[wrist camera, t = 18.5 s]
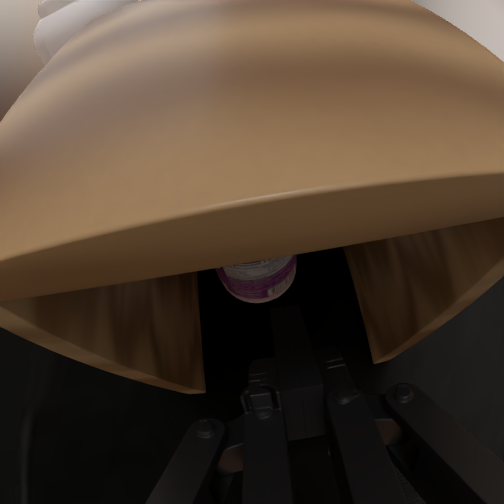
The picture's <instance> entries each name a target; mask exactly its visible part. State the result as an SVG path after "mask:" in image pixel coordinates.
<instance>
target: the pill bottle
mask: <svg viewBox="0 0 504 504" xmlns="http://www.w3.org/2000/svg"><path fill="white" fill-rule="evenodd" d="M215 270H216V272H217V274H218V276H219V278H220V280H221V281H222V283H223V285H224V286H225V288H226V289H227V290H228V291H229V292H230V293H231V294H232V295H233V296H235V297H236V298H238V299H240V300H243V301H246V302H250V303H262V302H267V301H270V300H272V299H276V298H277V297H279V296H280V295H282V294H283V293H284V292H285V291H286V290H287V289H288V288H289V286H290V285H291V283H292V281H293V279H294V276H295V273H296V255H290V256H285V257H279V258H273V259H267V260H261V261H255V262H249V263H243V264H237V265H231V266H225V267H219V268H215Z"/></svg>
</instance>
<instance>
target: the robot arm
mask: <svg viewBox="0 0 504 504" xmlns="http://www.w3.org/2000/svg"><path fill="white" fill-rule="evenodd" d="M270 315H271V324H272V333H273V342H274V350H275V357H270V358H264V359H257V360H253V361H252V363H251V365H250V366H249V377H248V382H249V383H248V387H246V388H245V389H244V390H243V391H242V393H241V396H240V399H241V402H242V406H243V409H244V413H243V414H242V415H241V416H240V417H238V418H237V419H234V420H232V421H229V422H226V423H223V422H221V421H220V420H219V419H215V418H204V419H200V420H198V421H196V422H194V423H193V424H192V425H191V426H190V427H189V429H188V430H187V432H186V434H185V436H184V438H183V439H182V441H181V443H180V445H179V446H178V448H177V450H176V452H175V454H174V455H173V457H172V459H171V461H170V462H169V464H168V466H167V468H166V469H165V471H164V473H163V474H162V476H161V478H160V480H159V481H158V483H157V485H156V487H155V488H154V490H153V492H152V493H151V495H150V497H149V498H148V500H147V502H146V504H229V501H230V498H231V496H232V493H233V490H234V488H235V485H236V482H237V479H238V477H239V474H240V471H241V470H243V489H242V504H296V502H295V493H294V484H293V476H292V467H291V459H290V451H289V445H288V441H291V440H297V439H304V438H309V437H315V436H320V435H325V434H326V432H327V436H328V455H330V456H331V461H332V465H333V469H334V473H335V478H336V482H337V487H338V491H339V496H340V500H341V504H408V502H407V499H406V497H405V494H404V491H403V489H402V486H401V484H400V481H399V479H398V476H397V474H396V471H395V468H394V466H393V464H392V462H393V463H394V464H395V466H396V467H397V468H398V469H399V470H400V472H401V473H402V474H403V475H404V477H405V478H406V479H407V480H408V481H409V483H410V484H411V485H412V486H413V487H414V489H415V490H416V491H417V492H418V494H419V495H420V496H421V497H422V498H423V500H424V501H425V502H426V503H427V504H504V462H503V461H502V460H501V459H500V458H499V457H497V456H496V455H495V454H494V453H493V452H492V451H491V450H489V449H488V448H487V447H486V446H485V445H484V444H483V443H481V442H480V441H479V440H478V439H477V438H476V437H474V436H473V435H472V434H471V433H470V432H469V431H468V430H466V429H465V428H464V427H463V426H462V425H461V424H460V423H458V422H457V421H456V420H455V419H454V418H453V417H451V416H450V415H449V414H448V413H447V412H446V411H445V410H443V409H442V408H441V407H440V406H439V405H438V404H436V403H435V402H434V401H433V400H432V399H431V398H429V397H428V396H427V395H426V394H425V393H424V392H423V391H421V390H420V389H419V388H418V387H416V386H414V385H413V384H408V383H399V384H396V385H393V386H392V387H390V388H389V389H388V390H387V392H386V393H385V395H369V394H365V393H363V392H362V391H361V390H360V389H359V388H357V387H355V385H354V383H353V381H352V378H351V376H350V374H349V371H348V369H347V367H346V365H345V362H344V360H343V358H342V355H341V353H340V351H339V350H337V349H336V348H335V347H333V346H329V347H324V348H319V349H314V350H313V348H312V345H311V342H310V339H309V336H308V332H307V329H306V326H305V323H304V320H303V317H302V314H301V310H300V307H299V304H298V305H292V306H286V307H280V308H274V309H270Z"/></svg>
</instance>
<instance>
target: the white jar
mask: <svg viewBox="0 0 504 504" xmlns="http://www.w3.org/2000/svg"><path fill="white" fill-rule="evenodd" d="M135 2H138V0H44V1H43V2H41V3H40V4H39V5H38V13H39V16H40V18H41V20H40V21H39V22H38V25H37V27H36V29H35V32H34V34H33V37H34V45H35V49H36V51H37V53H38V54H39V57H40V59H41V61H42V63H43V65H44V66H45V65H46V64H47V63H48V62H49V61H50V60H51V59H52V58H53V57H54V56H55V54H56V53H57V52H58V51H59V50H60V49H61V48H62V47H63V46H64V45H65V44H66V43H67V42H68V41H69V40H70V39H71V38H72V37H73V36H74V35H76V34H77V33H78V32H79V31H80V30H81V29H82V28H83V27H84V26H85V25H86V24H88V23H89V22H90V21H91V20H92V19H94V18H96V17H99V16H101V15H104V14H106V13H108V12H111V11H113V10H116V9H119V8H121V7H124V6H127V5H130V4H132V3H135Z"/></svg>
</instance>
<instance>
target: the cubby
mask: <svg viewBox="0 0 504 504" xmlns="http://www.w3.org/2000/svg"><path fill="white" fill-rule="evenodd" d="M342 246H343V249H344V253H345V256H346V259H347V263H348V266H349V270H350V273H351V276H352V280H353V284H354V287H355V291H356V294H357V298H358V302H359V306H360V309H361V313H362V317H363V321H364V325H365V329H366V333H367V338H368V342H369V346H370V350H371V355H372V359H373V363H374V364H377V363H381V362H384V361H388V360H390V359H392V358H394V357H395V356H397V355H399V354H400V353H402V352H403V351H405V350H406V349H408V348H410V347H411V346H413V345H414V344H416V343H417V342H419V341H420V340H422V339H423V338H425V337H426V336H428V335H429V334H430V333H432V332H433V331H435V330H436V329H438V328H439V327H440V326H442V325H443V324H445V323H446V322H447V321H449V320H450V319H451V318H453V317H454V316H455V315H457V314H458V313H459V312H461V311H462V310H463V309H464V308H466V307H467V306H468V305H470V304H471V303H472V302H473V301H475V300H476V299H477V298H478V297H480V296H481V295H482V294H483V293H484V292H486V291H487V290H488V289H489V288H490V287H491V286H493V285H494V284H495V283H496V282H497V281H498V280H499V279H501V278H502V277H503V276H504V62H503V61H502V60H500V59H499V58H498V57H496V55H494V54H493V53H492V52H490V51H489V50H488V49H487V48H485V47H484V46H483V45H481V44H480V43H479V42H477V41H476V40H474V39H473V38H472V37H470V36H469V35H467V34H466V33H465V32H463V31H462V30H460V29H459V28H457V27H456V26H454V25H452V24H451V23H449V22H448V21H446V20H444V19H443V18H441V17H440V16H438V15H436V14H434V13H433V12H431V11H429V10H428V9H426V8H424V7H422V6H421V5H419V4H416V3H415V2H413V1H411V0H141V1H138V2H135V3H132V4H130V5H127V6H124V7H121V8H119V9H116V10H113V11H111V12H108V13H106V14H104V15H101V16H99V17H96V18H94V19H92V20H91V21H90V22H89V23H88V24H86V25H85V26H84V27H83V28H82V29H81V30H80V31H79V32H78V33H77V34H76V35H74V36H73V37H72V38H71V39H70V40H69V41H68V42H67V43H66V44H65V45H64V46H63V47H62V48H61V49H60V50H59V51H58V52H57V53H56V54H55V56H54V57H53V58H52V59H51V60H50V61H49V62H48V63H47V64H46V65H45V66H44V67H43V69H42V70H41V71H40V72H39V73H38V74H37V75H36V77H35V78H34V79H33V80H32V81H31V83H30V84H29V85H28V86H27V87H26V89H25V90H24V91H23V93H22V94H21V95H20V96H19V98H18V99H17V100H16V102H15V103H14V104H13V106H12V107H11V108H10V110H9V111H8V113H7V114H6V115H5V117H4V118H3V120H2V121H1V122H0V327H2V328H4V329H6V330H8V331H10V332H12V333H14V334H16V335H19V336H21V337H23V338H25V339H27V340H29V341H31V342H34V343H36V344H38V345H40V346H43V347H45V348H47V349H50V350H52V351H54V352H57V353H59V354H62V355H64V356H67V357H69V358H72V359H75V360H77V361H80V362H83V363H85V364H88V365H91V366H94V367H96V368H99V369H102V370H105V371H108V372H111V373H114V374H117V375H120V376H124V377H127V378H130V379H133V380H137V381H140V382H144V383H147V384H151V385H155V386H158V387H162V388H166V389H170V390H174V391H178V392H182V393H186V394H198V393H206V386H205V375H204V364H203V353H202V340H201V326H200V311H199V295H198V276H197V271H201V270H207V269H213V268H219V267H225V266H231V265H237V264H243V263H249V262H255V261H261V260H267V259H273V258H279V257H285V256H290V255H296V254H302V253H308V252H313V251H319V250H325V249H331V248H336V247H342Z"/></svg>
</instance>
